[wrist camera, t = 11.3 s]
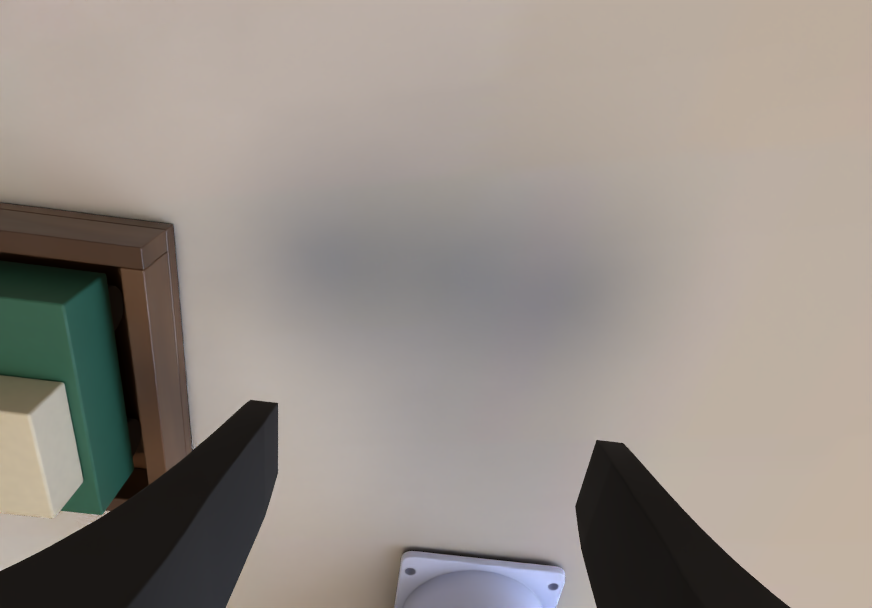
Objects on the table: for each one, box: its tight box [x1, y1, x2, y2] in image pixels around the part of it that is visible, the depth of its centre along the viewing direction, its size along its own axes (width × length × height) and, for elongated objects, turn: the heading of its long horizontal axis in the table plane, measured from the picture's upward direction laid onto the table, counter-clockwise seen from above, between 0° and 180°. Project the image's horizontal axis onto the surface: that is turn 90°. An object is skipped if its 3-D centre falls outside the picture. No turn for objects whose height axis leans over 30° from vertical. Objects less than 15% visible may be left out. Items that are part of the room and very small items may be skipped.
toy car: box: [0, 261, 141, 519], centre depth 20 cm, size 9×5×5 cm, turn 173°
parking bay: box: [0, 203, 192, 511], centre depth 22 cm, size 12×8×2 cm
